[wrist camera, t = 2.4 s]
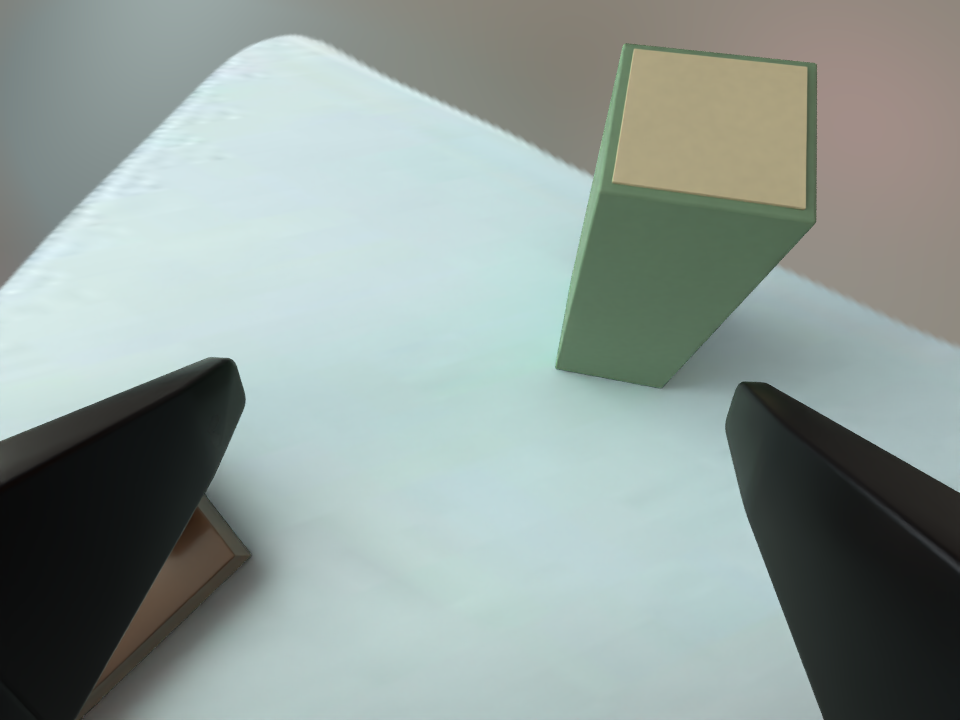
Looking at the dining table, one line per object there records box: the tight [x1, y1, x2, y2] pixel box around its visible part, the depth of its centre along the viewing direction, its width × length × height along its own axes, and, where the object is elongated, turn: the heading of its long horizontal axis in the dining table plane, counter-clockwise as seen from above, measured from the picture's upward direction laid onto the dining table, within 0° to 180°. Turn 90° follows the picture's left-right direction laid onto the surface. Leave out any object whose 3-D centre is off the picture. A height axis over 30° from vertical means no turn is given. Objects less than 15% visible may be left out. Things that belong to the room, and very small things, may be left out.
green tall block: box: [555, 43, 817, 388], centre depth 19 cm, size 5×5×13 cm
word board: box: [76, 495, 251, 720], centre depth 21 cm, size 9×13×4 cm
